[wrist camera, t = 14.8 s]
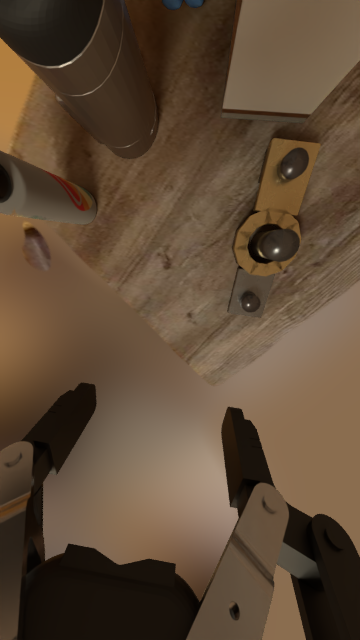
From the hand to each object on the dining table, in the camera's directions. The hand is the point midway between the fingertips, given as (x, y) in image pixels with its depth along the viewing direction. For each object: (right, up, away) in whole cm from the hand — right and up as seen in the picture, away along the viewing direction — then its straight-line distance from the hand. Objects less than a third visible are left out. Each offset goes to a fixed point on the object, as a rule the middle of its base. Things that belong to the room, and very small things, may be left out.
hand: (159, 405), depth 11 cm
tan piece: (+16, +18, +21) cm, 32 cm away
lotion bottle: (-16, +25, +22) cm, 37 cm away
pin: (+15, +18, +21) cm, 32 cm away
